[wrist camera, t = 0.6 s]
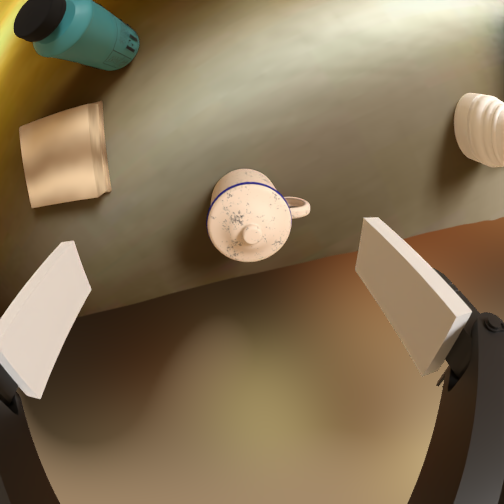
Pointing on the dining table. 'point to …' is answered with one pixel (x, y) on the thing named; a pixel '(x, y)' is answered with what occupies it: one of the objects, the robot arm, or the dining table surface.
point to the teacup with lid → (250, 216)
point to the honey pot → (480, 128)
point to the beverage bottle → (77, 33)
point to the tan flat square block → (66, 156)
